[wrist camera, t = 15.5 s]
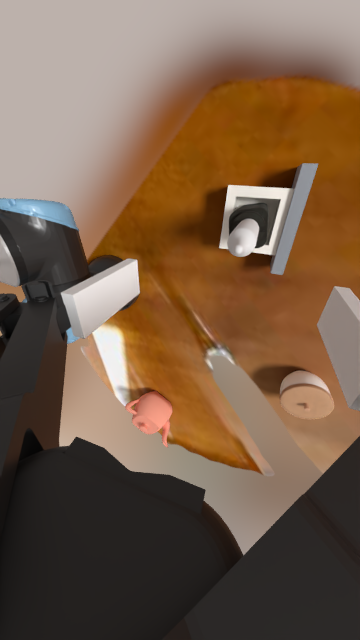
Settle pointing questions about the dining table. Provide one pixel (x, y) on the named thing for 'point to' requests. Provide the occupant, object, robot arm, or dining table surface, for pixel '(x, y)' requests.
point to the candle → (248, 229)
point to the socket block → (277, 211)
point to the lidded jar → (305, 396)
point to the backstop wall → (293, 215)
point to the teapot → (151, 414)
